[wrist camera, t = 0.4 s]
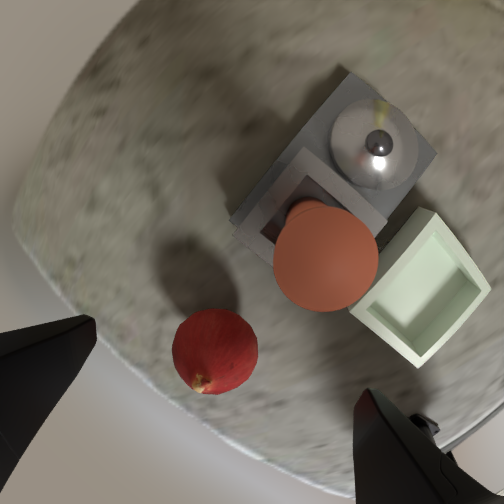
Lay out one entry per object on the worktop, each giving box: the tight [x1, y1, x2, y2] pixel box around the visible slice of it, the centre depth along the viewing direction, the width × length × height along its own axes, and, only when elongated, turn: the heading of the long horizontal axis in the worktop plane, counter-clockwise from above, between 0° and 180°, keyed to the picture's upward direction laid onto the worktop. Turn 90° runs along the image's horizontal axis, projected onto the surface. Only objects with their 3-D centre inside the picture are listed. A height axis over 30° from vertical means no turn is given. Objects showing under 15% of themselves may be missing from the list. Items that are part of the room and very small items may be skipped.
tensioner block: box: [229, 72, 437, 267], centre depth 17 cm, size 8×13×4 cm, turn 142°
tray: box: [347, 207, 491, 368], centre depth 18 cm, size 9×9×3 cm
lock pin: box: [273, 197, 379, 312], centre depth 14 cm, size 4×4×9 cm
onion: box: [172, 308, 258, 395], centre depth 18 cm, size 6×6×8 cm
